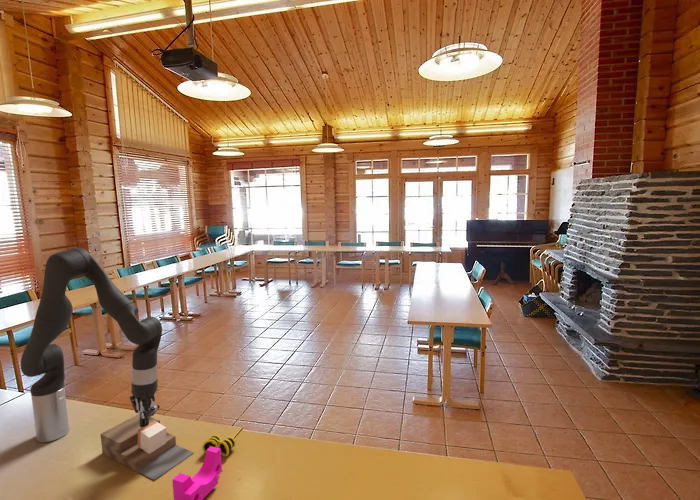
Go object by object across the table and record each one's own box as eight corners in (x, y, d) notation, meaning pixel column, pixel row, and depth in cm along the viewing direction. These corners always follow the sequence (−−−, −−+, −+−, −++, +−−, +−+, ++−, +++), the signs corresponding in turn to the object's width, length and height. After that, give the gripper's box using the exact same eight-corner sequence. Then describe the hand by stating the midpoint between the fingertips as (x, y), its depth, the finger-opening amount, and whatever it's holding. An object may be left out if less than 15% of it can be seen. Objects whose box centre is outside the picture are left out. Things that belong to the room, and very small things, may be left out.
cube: (137, 430, 119) (149, 437, 116) (154, 420, 124) (166, 427, 121) (137, 446, 120) (149, 454, 117) (154, 435, 125) (166, 443, 122)
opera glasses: (237, 448, 124) (236, 435, 124) (228, 459, 119) (227, 444, 119) (211, 445, 127) (211, 431, 126) (202, 455, 122) (201, 441, 121)
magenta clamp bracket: (191, 510, 99) (189, 485, 98) (174, 504, 101) (172, 479, 100) (228, 473, 113) (227, 450, 112) (212, 468, 115) (211, 446, 114)
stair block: (102, 453, 123) (100, 434, 122) (142, 430, 135) (140, 413, 135) (154, 480, 110) (152, 459, 109) (193, 453, 122) (192, 433, 121)
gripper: (121, 376, 119) (121, 424, 122) (146, 389, 113) (145, 440, 116) (143, 367, 126) (142, 413, 128) (168, 379, 120) (167, 427, 122)
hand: (144, 426), depth 122 cm, fingers closed
